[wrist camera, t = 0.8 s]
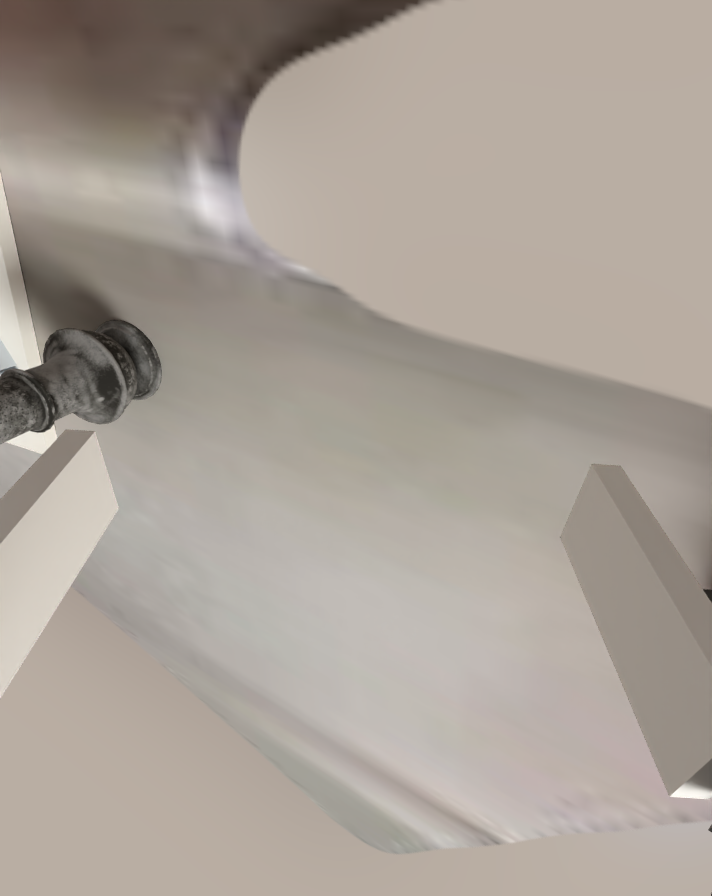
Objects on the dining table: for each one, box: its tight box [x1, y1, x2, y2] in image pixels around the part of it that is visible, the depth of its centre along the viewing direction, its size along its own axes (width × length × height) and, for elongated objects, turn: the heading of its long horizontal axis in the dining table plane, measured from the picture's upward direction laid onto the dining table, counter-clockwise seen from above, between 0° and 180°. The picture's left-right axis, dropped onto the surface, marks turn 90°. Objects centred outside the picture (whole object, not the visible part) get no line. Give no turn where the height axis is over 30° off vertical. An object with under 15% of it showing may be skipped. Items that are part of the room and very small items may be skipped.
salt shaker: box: [0, 320, 162, 444], centre depth 27 cm, size 6×6×12 cm
